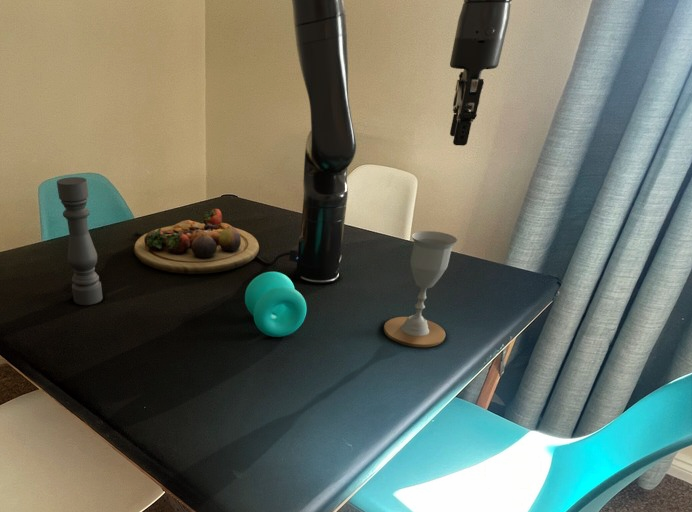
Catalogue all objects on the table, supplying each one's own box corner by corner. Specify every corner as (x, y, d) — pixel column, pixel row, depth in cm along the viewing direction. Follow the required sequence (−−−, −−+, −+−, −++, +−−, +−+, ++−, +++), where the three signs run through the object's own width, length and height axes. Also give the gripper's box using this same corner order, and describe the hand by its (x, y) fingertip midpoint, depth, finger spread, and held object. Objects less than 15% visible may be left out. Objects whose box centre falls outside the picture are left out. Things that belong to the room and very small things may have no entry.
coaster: (382, 342, 102) (383, 339, 101) (384, 316, 111) (385, 313, 110) (446, 350, 99) (447, 348, 99) (443, 323, 108) (443, 320, 108)
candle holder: (108, 295, 121) (94, 178, 107) (91, 307, 116) (75, 186, 103) (84, 290, 123) (68, 175, 110) (67, 302, 118) (48, 183, 105)
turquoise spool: (290, 313, 112) (294, 267, 107) (306, 337, 104) (310, 288, 99) (242, 317, 111) (243, 271, 106) (254, 342, 102) (256, 293, 97)
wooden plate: (185, 224, 162) (185, 195, 157) (281, 245, 146) (283, 214, 141) (108, 257, 140) (104, 225, 135) (210, 287, 124) (210, 252, 119)
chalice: (435, 324, 106) (456, 233, 97) (435, 340, 101) (457, 246, 91) (395, 318, 108) (412, 229, 99) (394, 334, 103) (411, 242, 93)
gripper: (452, 34, 97) (433, 132, 105) (458, 36, 85) (437, 147, 94) (499, 34, 95) (476, 134, 104) (511, 36, 83) (484, 149, 92)
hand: (457, 140), depth 99 cm, fingers open, 8 cm apart
